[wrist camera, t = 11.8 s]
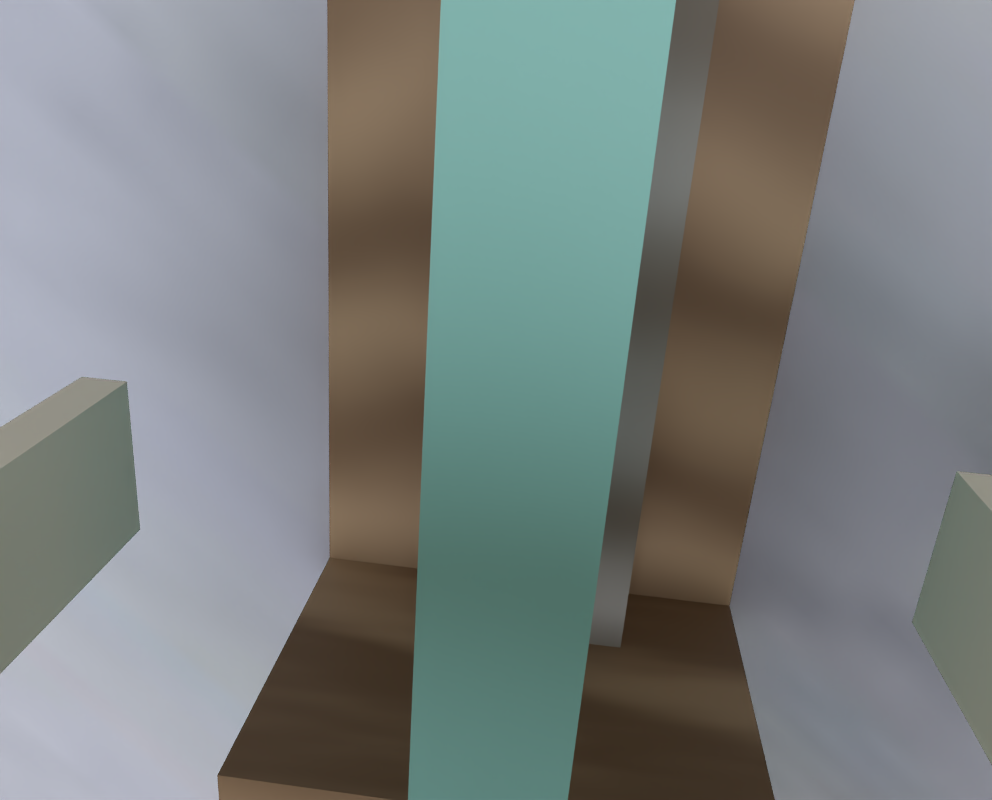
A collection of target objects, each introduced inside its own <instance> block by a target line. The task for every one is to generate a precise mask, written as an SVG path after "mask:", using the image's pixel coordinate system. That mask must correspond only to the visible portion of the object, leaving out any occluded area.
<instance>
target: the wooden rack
mask: <svg viewBox="0 0 992 800" xmlns="http://www.w3.org/2000/svg"><path fill="white" fill-rule="evenodd" d="M854 1H855V0H676V4H675V12H674V19H673V27H672V34H671V41H670V49H669V56H668V63H667V71H666V78H665V86H664V93H663V100H662V108H661V115H660V122H659V130H658V137H657V145H656V152H655V159H654V167H653V174H652V182H651V189H650V196H649V204H648V211H647V218H646V226H645V233H644V241H643V248H642V255H641V263H640V270H639V278H638V285H637V292H636V300H635V307H634V314H633V322H632V329H631V337H630V344H629V351H628V359H627V366H626V373H625V381H624V388H623V396H622V403H621V410H620V418H619V425H618V433H617V440H616V447H615V455H614V462H613V469H612V477H611V484H610V492H609V499H608V506H607V514H606V521H605V529H604V536H603V543H602V551H601V558H600V565H599V573H598V580H597V588H596V595H595V602H594V610H593V617H592V624H591V632H590V639H589V647H588V654H587V661H586V669H585V676H584V684H583V691H582V698H581V706H580V713H579V720H578V728H577V735H576V743H575V750H574V757H573V765H572V772H571V780H570V787H569V794H568V800H775V799H774V795H773V791H772V786H771V782H770V778H769V774H768V769H767V765H766V761H765V756H764V752H763V748H762V744H761V739H760V735H759V731H758V726H757V722H756V718H755V714H754V709H753V705H752V701H751V697H750V692H749V688H748V684H747V679H746V675H745V671H744V667H743V662H742V658H741V654H740V649H739V645H738V641H737V637H736V632H735V628H734V624H733V620H732V615H731V611H730V607H729V605H730V600H731V595H732V590H733V585H734V581H735V576H736V571H737V566H738V561H739V556H740V552H741V547H742V542H743V537H744V532H745V527H746V523H747V518H748V513H749V508H750V503H751V498H752V494H753V489H754V484H755V479H756V474H757V469H758V465H759V460H760V455H761V450H762V445H763V441H764V436H765V431H766V426H767V421H768V416H769V412H770V407H771V402H772V397H773V392H774V387H775V383H776V378H777V373H778V368H779V363H780V358H781V354H782V349H783V344H784V339H785V334H786V329H787V325H788V320H789V315H790V310H791V305H792V300H793V296H794V291H795V286H796V281H797V276H798V271H799V267H800V262H801V257H802V252H803V247H804V242H805V238H806V233H807V228H808V223H809V218H810V213H811V209H812V204H813V199H814V194H815V189H816V184H817V180H818V175H819V170H820V165H821V160H822V155H823V151H824V146H825V141H826V136H827V131H828V126H829V122H830V117H831V112H832V107H833V102H834V98H835V93H836V88H837V83H838V78H839V73H840V69H841V64H842V59H843V54H844V49H845V44H846V40H847V35H848V30H849V25H850V20H851V15H852V11H853V6H854ZM327 7H328V252H329V497H330V558H329V560H328V562H327V564H326V566H325V568H324V570H323V572H322V574H321V576H320V578H319V580H318V582H317V583H316V585H315V587H314V589H313V591H312V593H311V595H310V597H309V599H308V601H307V603H306V605H305V607H304V609H303V611H302V613H301V614H300V616H299V618H298V620H297V622H296V624H295V626H294V628H293V630H292V632H291V634H290V636H289V638H288V640H287V642H286V644H285V645H284V647H283V649H282V651H281V653H280V655H279V657H278V659H277V661H276V663H275V665H274V667H273V669H272V671H271V673H270V675H269V676H268V678H267V680H266V682H265V684H264V686H263V688H262V690H261V692H260V694H259V696H258V698H257V700H256V702H255V704H254V706H253V707H252V709H251V711H250V713H249V715H248V717H247V719H246V721H245V723H244V725H243V727H242V729H241V731H240V733H239V735H238V737H237V738H236V740H235V742H234V744H233V746H232V748H231V750H230V752H229V754H228V756H227V758H226V760H225V762H224V764H223V766H222V768H221V769H220V771H219V773H218V775H217V776H218V790H219V800H408V786H409V762H410V737H411V713H412V689H413V665H414V641H415V616H416V592H417V568H418V544H419V520H420V495H421V471H422V447H423V423H424V399H425V374H426V350H427V326H428V302H429V278H430V253H431V229H432V205H433V181H434V157H435V132H436V108H437V84H438V60H439V36H440V11H441V0H327Z"/></svg>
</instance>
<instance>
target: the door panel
mask: <svg viewBox="0 0 992 800" xmlns="http://www.w3.org/2000/svg"><path fill="white" fill-rule="evenodd" d="M675 4H676V0H441V11H440V36H439V60H438V84H437V108H436V132H435V157H434V181H433V205H432V229H431V253H430V278H429V302H428V326H427V350H426V374H425V399H424V423H423V447H422V471H421V495H420V520H419V544H418V568H417V592H416V616H415V641H414V665H413V689H412V713H411V737H410V762H409V786H408V800H568V794H569V787H570V780H571V772H572V765H573V757H574V750H575V743H576V735H577V728H578V720H579V713H580V706H581V698H582V691H583V684H584V676H585V669H586V661H587V654H588V647H589V639H590V632H591V624H592V617H593V610H594V602H595V595H596V588H597V580H598V573H599V565H600V558H601V551H602V543H603V536H604V529H605V521H606V514H607V506H608V499H609V492H610V484H611V477H612V469H613V462H614V455H615V447H616V440H617V433H618V425H619V418H620V410H621V403H622V396H623V388H624V381H625V373H626V366H627V359H628V351H629V344H630V337H631V329H632V322H633V314H634V307H635V300H636V292H637V285H638V278H639V270H640V263H641V255H642V248H643V241H644V233H645V226H646V218H647V211H648V204H649V196H650V189H651V182H652V174H653V167H654V159H655V152H656V145H657V137H658V130H659V122H660V115H661V108H662V100H663V93H664V86H665V78H666V71H667V63H668V56H669V49H670V41H671V34H672V27H673V19H674V12H675Z"/></svg>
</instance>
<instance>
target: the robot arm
mask: <svg viewBox="0 0 992 800" xmlns="http://www.w3.org/2000/svg"><path fill="white" fill-rule="evenodd" d="M139 530H140V523H139V512H138V501H137V490H136V479H135V468H134V457H133V446H132V434H131V423H130V412H129V401H128V390H127V382H125V381H115V380H106V379H97V378H88V377H81V378H79V379H78V380H76V381H74V382H73V383H71V384H69V385H68V386H66V387H65V388H63V389H61V390H60V391H58V392H57V393H55V394H53V395H52V396H50V397H48V398H47V399H45V400H44V401H42V402H40V403H39V404H37V405H36V406H34V407H32V408H31V409H29V410H27V411H26V412H24V413H23V414H21V415H19V416H18V417H16V418H15V419H13V420H11V421H10V422H8V423H6V424H5V425H3V426H2V427H0V674H1V672H2V671H3V670H4V669H5V668H6V667H7V666H8V665H9V664H10V663H11V662H12V661H13V660H14V659H15V658H16V657H17V656H18V655H19V654H20V653H21V652H22V651H23V650H24V649H25V648H26V647H27V646H28V645H29V644H30V643H31V642H32V640H33V639H34V638H35V637H36V636H37V635H38V634H39V633H40V632H41V631H42V630H43V629H44V628H45V627H46V626H47V625H48V624H49V623H50V622H51V621H52V620H53V619H54V618H55V617H56V616H57V615H58V614H59V613H60V612H61V611H62V609H63V608H64V607H65V606H66V605H67V604H68V603H69V602H70V601H71V600H72V599H73V598H74V597H75V596H76V595H77V594H78V593H79V592H80V591H81V590H82V589H83V588H84V587H85V586H86V585H87V584H88V583H89V582H90V581H91V580H92V578H93V577H94V576H95V575H96V574H97V573H98V572H99V571H100V570H101V569H102V568H103V567H104V566H105V565H106V564H107V563H108V562H109V561H110V560H111V559H112V558H113V557H114V556H115V555H116V554H117V553H118V552H119V551H120V550H121V549H122V548H123V546H124V545H125V544H126V543H127V542H128V541H129V540H130V539H131V538H132V537H133V536H134V535H135V534H136V533H137V532H138V531H139ZM912 623H913V625H914V627H915V628H916V630H917V632H918V634H919V636H920V637H921V639H922V641H923V643H924V645H925V646H926V648H927V650H928V652H929V654H930V655H931V657H932V659H933V661H934V662H935V664H936V666H937V668H938V670H939V671H940V673H941V675H942V677H943V679H944V680H945V682H946V684H947V686H948V688H949V689H950V691H951V693H952V695H953V696H954V698H955V700H956V702H957V704H958V705H959V707H960V709H961V711H962V713H963V714H964V716H965V718H966V720H967V721H968V723H969V725H970V727H971V729H972V730H973V732H974V734H975V736H976V738H977V739H978V741H979V743H980V745H981V747H982V748H983V750H984V752H985V754H986V755H987V757H988V759H989V761H990V763H991V764H992V475H987V474H978V473H968V472H959V471H957V472H956V475H955V479H954V482H953V486H952V489H951V492H950V496H949V499H948V502H947V506H946V509H945V513H944V516H943V519H942V523H941V526H940V530H939V533H938V536H937V540H936V543H935V546H934V550H933V553H932V557H931V560H930V563H929V567H928V570H927V574H926V577H925V580H924V584H923V587H922V590H921V594H920V597H919V601H918V604H917V607H916V611H915V614H914V618H913V621H912Z"/></svg>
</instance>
